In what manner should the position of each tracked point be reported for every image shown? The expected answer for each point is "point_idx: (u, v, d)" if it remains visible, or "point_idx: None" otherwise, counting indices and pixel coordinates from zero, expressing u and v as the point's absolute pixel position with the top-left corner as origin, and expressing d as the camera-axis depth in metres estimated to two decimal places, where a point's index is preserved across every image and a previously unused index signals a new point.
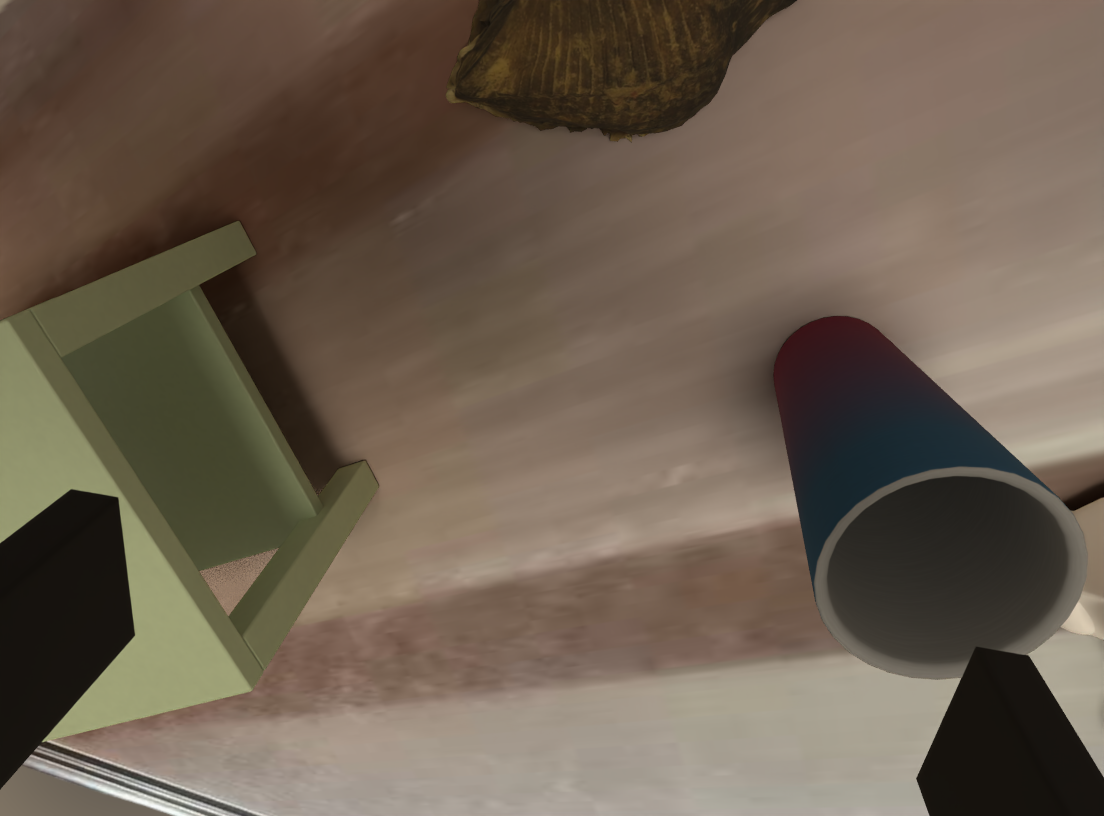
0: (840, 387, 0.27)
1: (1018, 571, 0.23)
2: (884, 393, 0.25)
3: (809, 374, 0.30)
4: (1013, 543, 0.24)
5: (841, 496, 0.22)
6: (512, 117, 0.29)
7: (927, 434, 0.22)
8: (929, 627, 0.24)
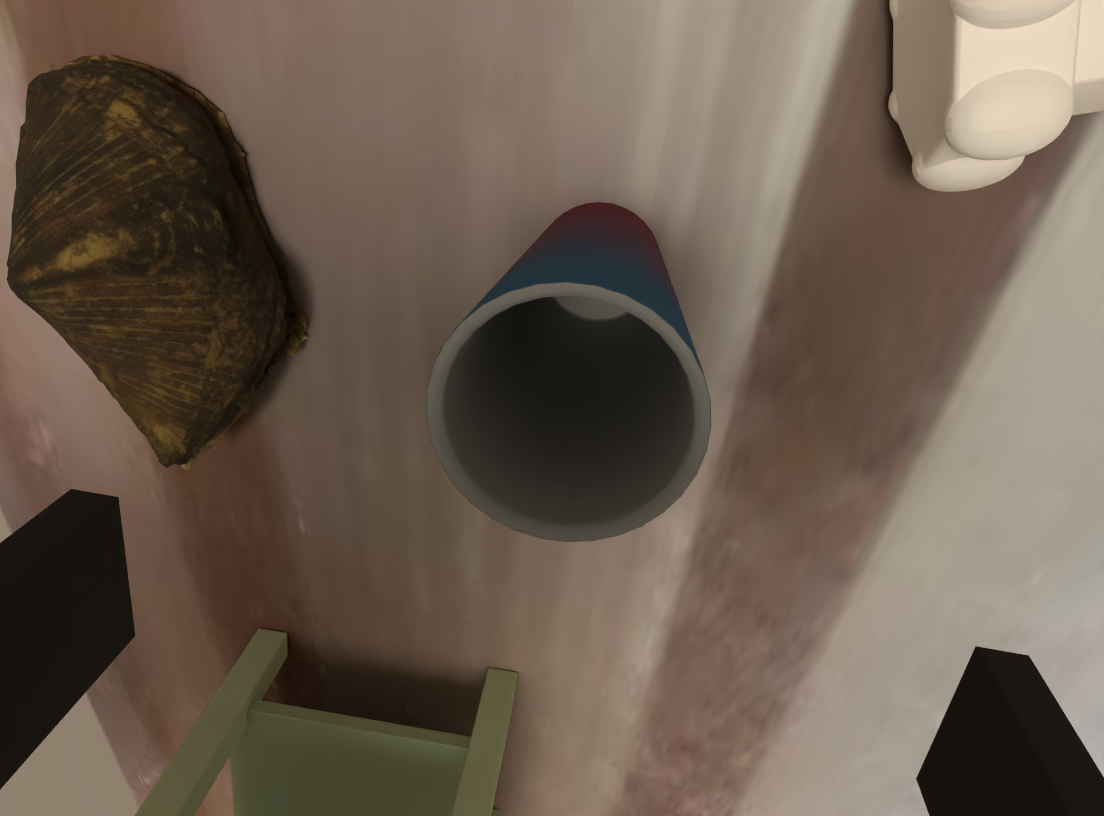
0: None
1: None
2: None
3: None
4: None
5: None
6: (223, 429, 0.34)
7: None
8: (679, 429, 0.21)
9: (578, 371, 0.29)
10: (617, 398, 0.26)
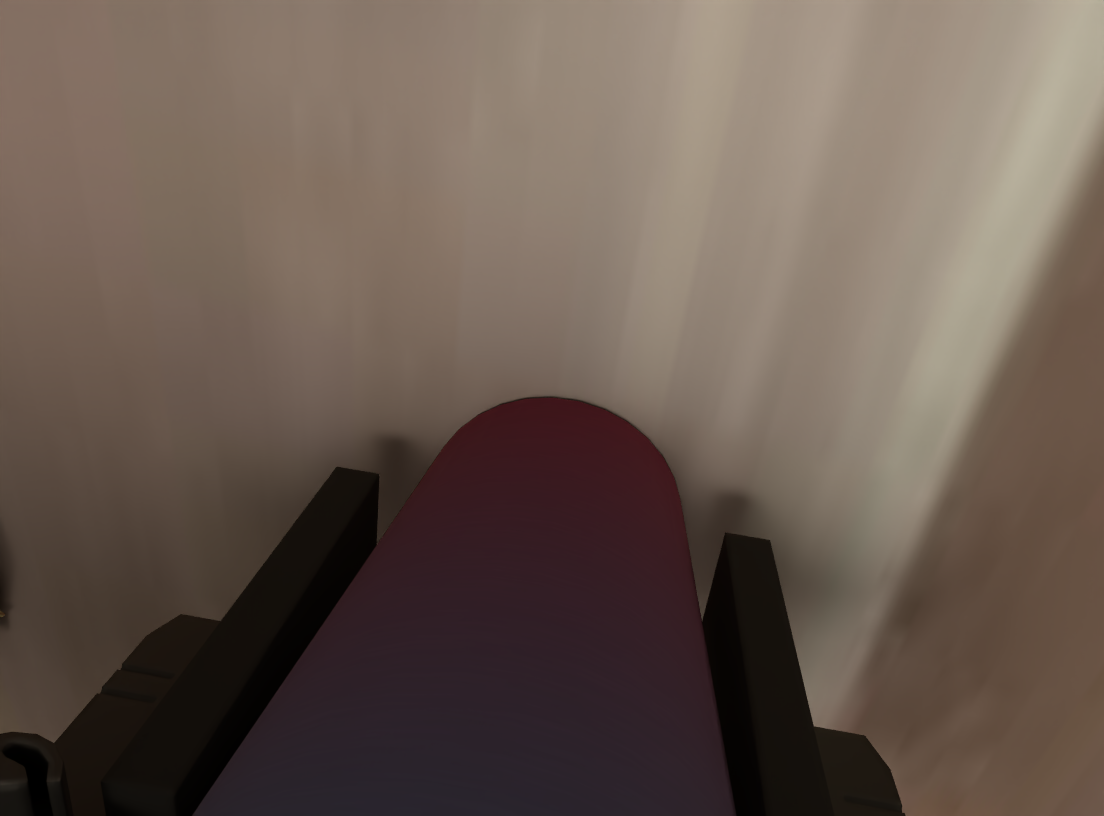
0: None
1: None
2: None
3: None
4: None
5: None
6: None
7: None
8: None
9: None
10: None
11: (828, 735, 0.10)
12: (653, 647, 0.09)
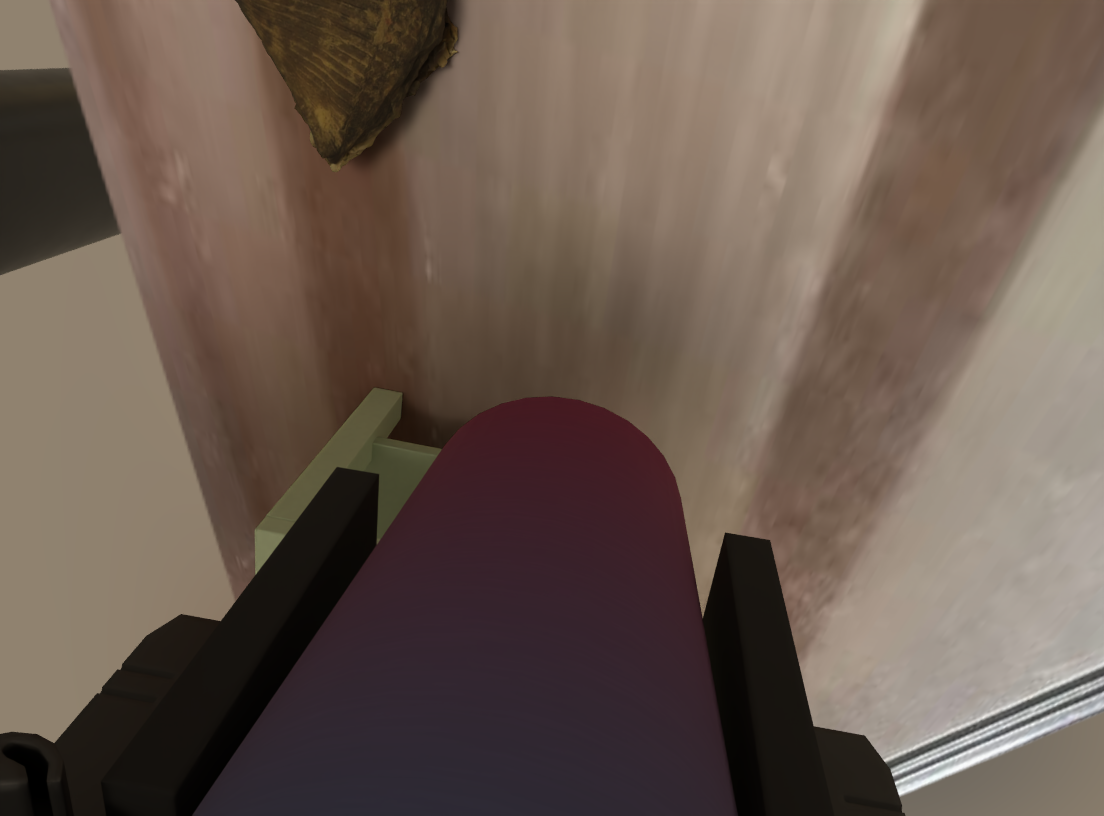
0: None
1: None
2: None
3: None
4: None
5: None
6: (375, 132, 0.34)
7: None
8: None
9: None
10: None
11: (827, 735, 0.10)
12: (654, 645, 0.09)
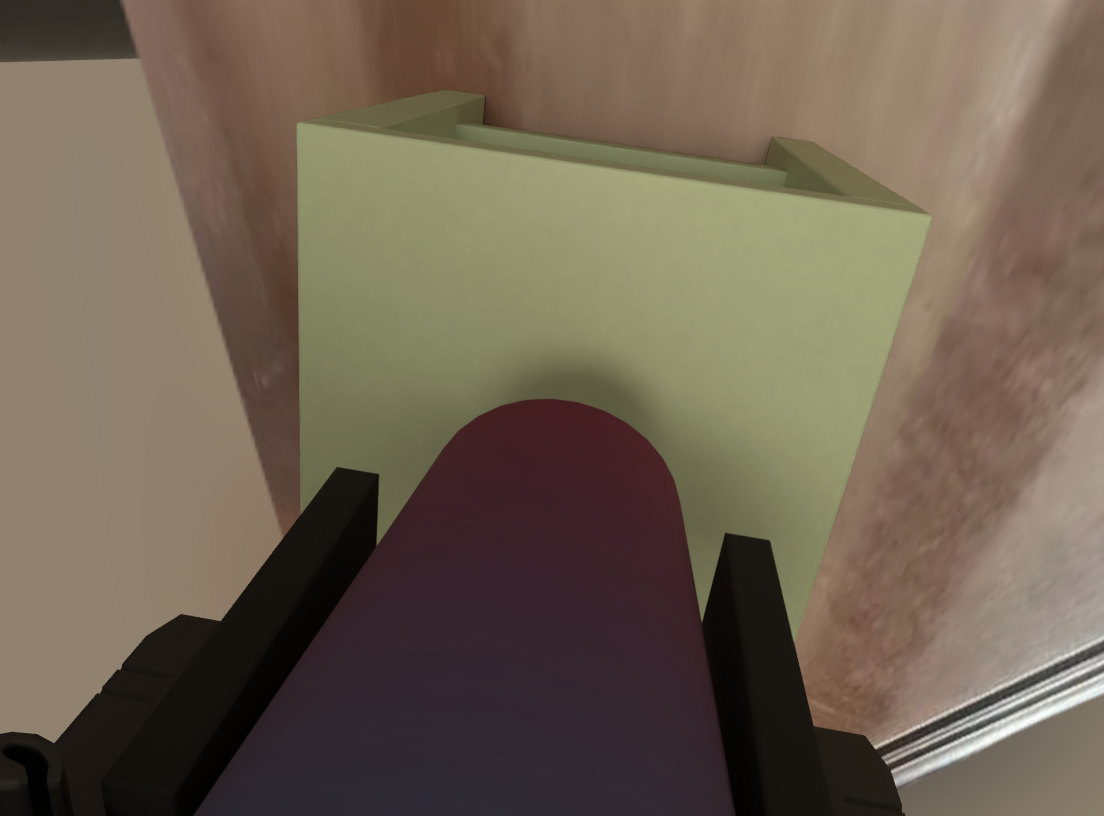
0: None
1: None
2: None
3: None
4: None
5: None
6: None
7: None
8: None
9: None
10: None
11: (828, 735, 0.10)
12: (653, 648, 0.09)
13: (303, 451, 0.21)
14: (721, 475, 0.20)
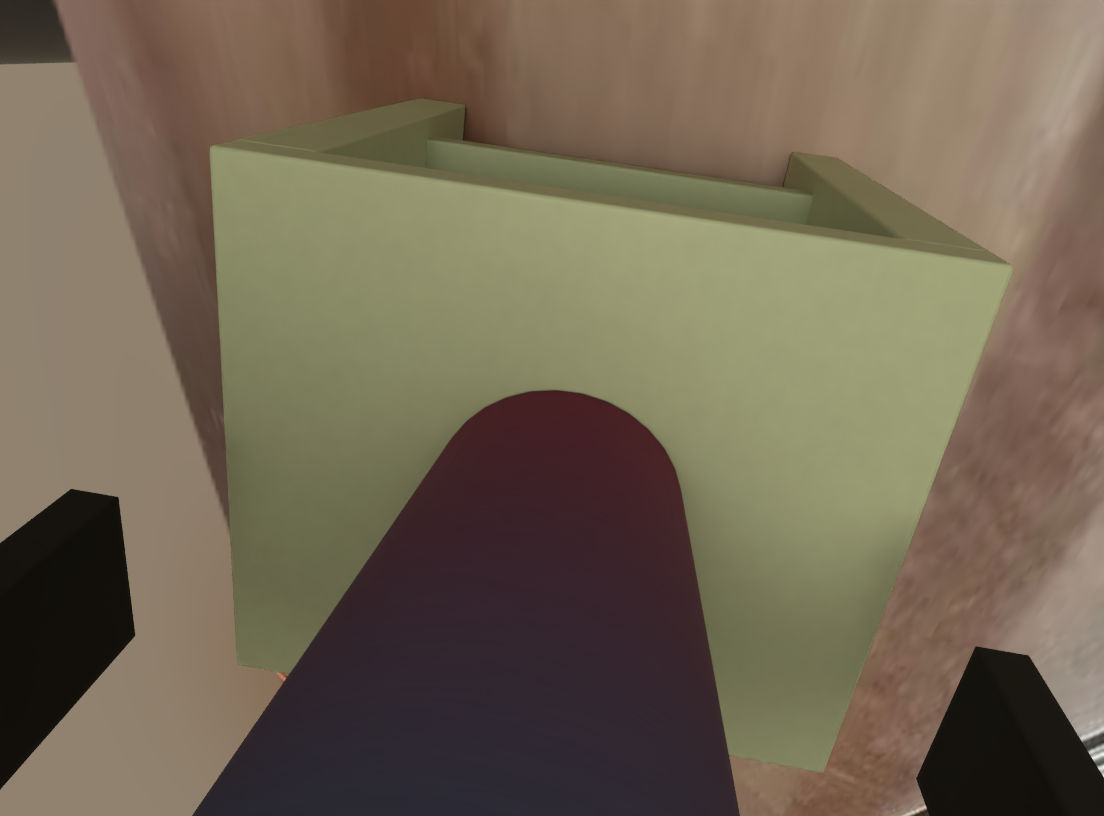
0: None
1: None
2: None
3: None
4: None
5: None
6: None
7: None
8: None
9: None
10: None
11: None
12: (654, 624, 0.10)
13: (234, 538, 0.18)
14: (740, 573, 0.16)
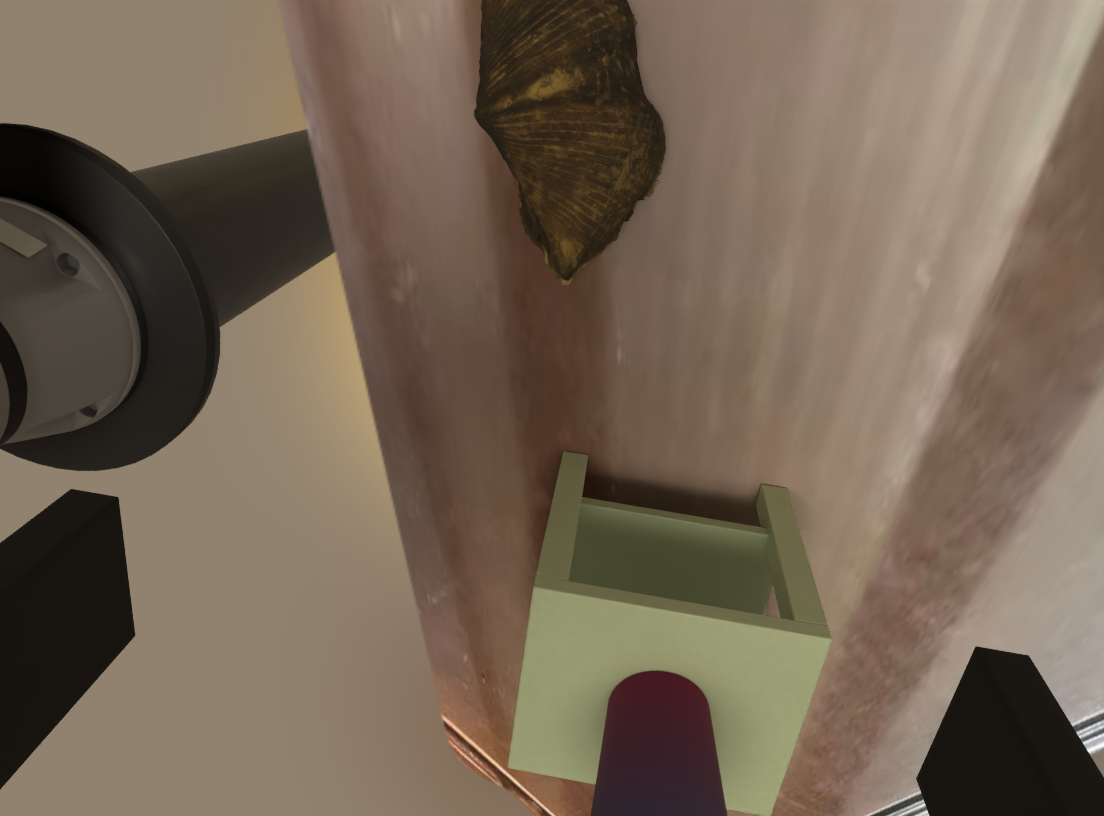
0: None
1: None
2: None
3: None
4: None
5: None
6: (598, 253, 0.42)
7: None
8: None
9: None
10: None
11: None
12: (707, 786, 0.33)
13: (517, 718, 0.41)
14: (733, 737, 0.40)
